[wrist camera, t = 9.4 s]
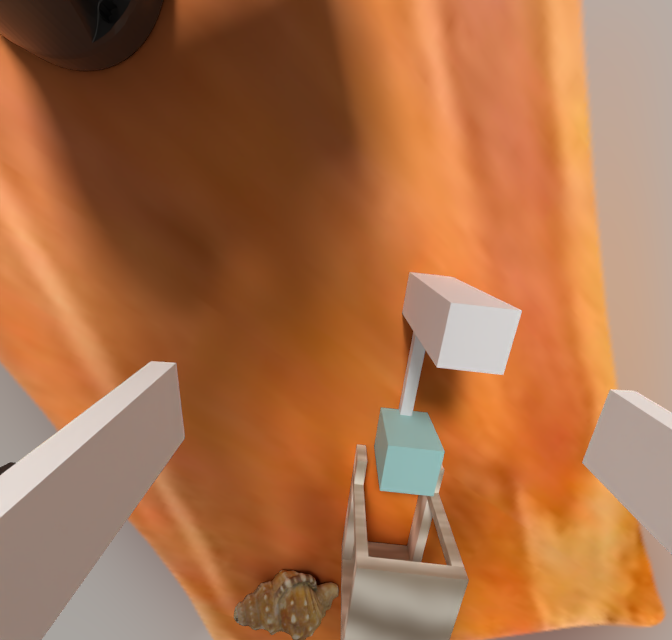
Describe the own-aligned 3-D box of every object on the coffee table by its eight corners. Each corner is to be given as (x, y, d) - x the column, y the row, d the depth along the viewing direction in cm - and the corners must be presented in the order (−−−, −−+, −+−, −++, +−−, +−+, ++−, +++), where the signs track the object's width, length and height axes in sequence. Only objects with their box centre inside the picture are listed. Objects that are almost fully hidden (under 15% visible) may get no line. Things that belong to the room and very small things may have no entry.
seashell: (285, 581, 46) (232, 650, 37) (284, 530, 45) (229, 590, 36) (341, 615, 41) (294, 703, 33) (341, 560, 40) (294, 636, 32)
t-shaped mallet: (404, 271, 29) (442, 301, 18) (457, 277, 29) (530, 311, 18) (374, 446, 35) (388, 556, 23) (418, 451, 35) (455, 563, 23)
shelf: (356, 444, 35) (361, 540, 24) (437, 453, 35) (477, 552, 24) (341, 544, 39) (340, 662, 28) (413, 552, 39) (438, 673, 28)
